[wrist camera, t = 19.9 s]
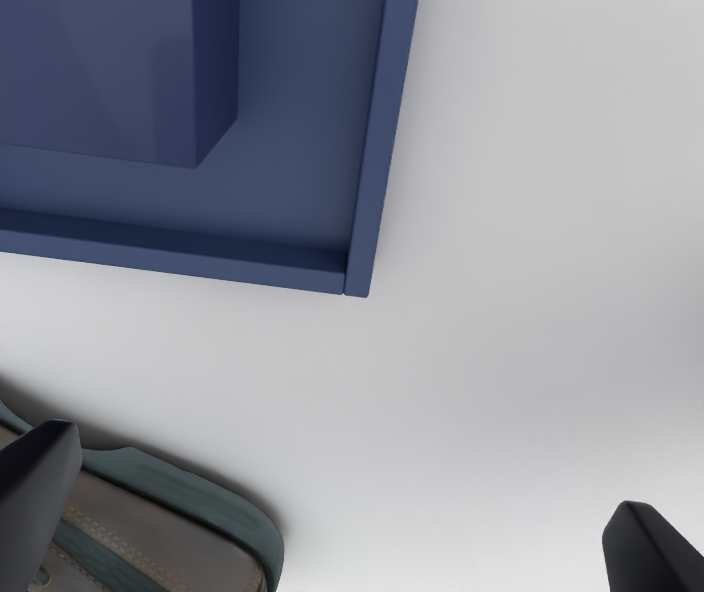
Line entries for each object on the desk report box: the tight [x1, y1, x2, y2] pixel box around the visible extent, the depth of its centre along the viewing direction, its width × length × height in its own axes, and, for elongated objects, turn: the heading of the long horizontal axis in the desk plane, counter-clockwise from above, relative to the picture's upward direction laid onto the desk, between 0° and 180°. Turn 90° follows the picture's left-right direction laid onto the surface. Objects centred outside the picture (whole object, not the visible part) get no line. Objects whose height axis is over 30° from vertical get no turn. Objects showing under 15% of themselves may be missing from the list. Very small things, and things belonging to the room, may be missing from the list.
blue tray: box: [0, 0, 418, 298], centre depth 15 cm, size 14×14×2 cm
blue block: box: [0, 0, 240, 169], centre depth 13 cm, size 4×4×4 cm
